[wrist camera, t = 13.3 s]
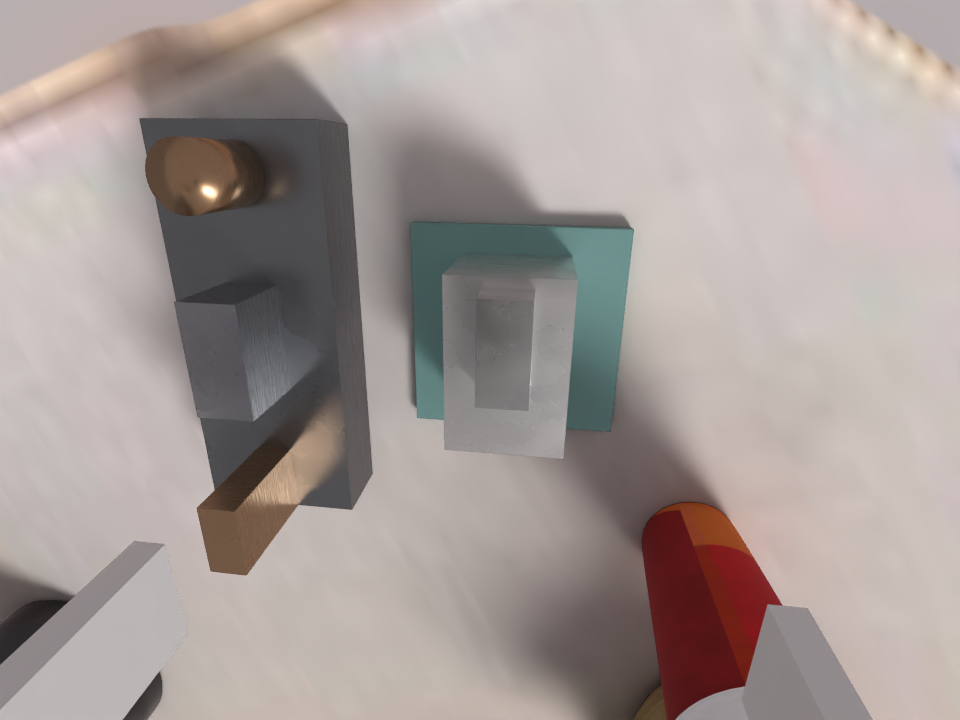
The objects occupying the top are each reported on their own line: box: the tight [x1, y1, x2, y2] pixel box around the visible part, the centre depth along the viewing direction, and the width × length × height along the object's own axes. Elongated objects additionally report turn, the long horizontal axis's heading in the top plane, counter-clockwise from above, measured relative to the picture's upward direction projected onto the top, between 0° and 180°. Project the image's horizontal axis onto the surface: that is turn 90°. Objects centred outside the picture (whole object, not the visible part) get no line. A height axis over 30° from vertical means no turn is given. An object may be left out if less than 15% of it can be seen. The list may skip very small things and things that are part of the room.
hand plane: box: [139, 118, 373, 575], centre depth 28 cm, size 9×22×10 cm, turn 0°
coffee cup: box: [642, 502, 783, 720], centre depth 28 cm, size 8×8×15 cm
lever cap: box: [442, 252, 578, 459], centre depth 27 cm, size 6×9×8 cm, turn 0°
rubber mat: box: [410, 222, 634, 432], centre depth 31 cm, size 12×12×1 cm
